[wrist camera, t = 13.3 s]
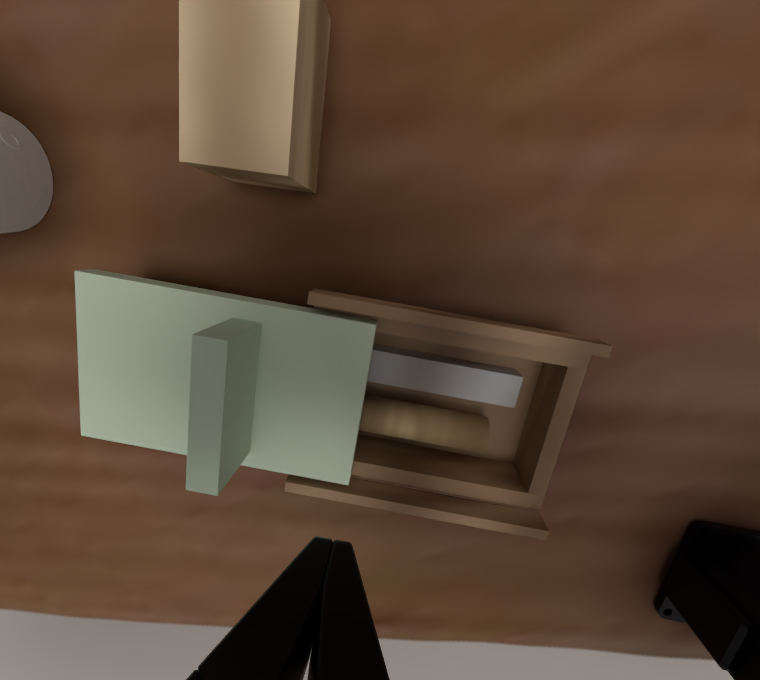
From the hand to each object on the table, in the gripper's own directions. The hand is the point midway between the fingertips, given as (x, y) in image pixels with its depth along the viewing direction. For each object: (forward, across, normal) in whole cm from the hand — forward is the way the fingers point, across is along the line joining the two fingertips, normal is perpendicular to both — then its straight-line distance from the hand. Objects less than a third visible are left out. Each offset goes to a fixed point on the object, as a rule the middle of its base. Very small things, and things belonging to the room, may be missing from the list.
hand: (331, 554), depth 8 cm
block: (+12, +6, -12) cm, 18 cm away
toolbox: (+12, -3, 0) cm, 12 cm away
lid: (+9, +6, 0) cm, 11 cm away
